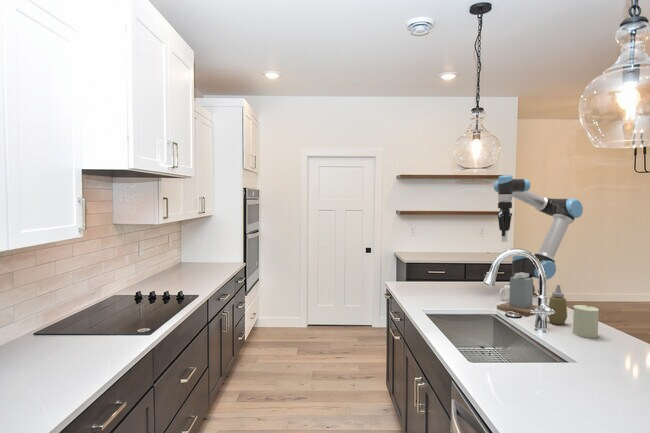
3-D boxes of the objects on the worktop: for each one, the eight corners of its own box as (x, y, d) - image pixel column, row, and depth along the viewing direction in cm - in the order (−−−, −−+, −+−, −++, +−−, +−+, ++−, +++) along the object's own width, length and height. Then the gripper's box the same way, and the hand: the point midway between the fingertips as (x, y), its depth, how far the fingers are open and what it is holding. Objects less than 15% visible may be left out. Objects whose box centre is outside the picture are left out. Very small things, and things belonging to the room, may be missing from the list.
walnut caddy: (515, 304, 213) (515, 300, 213) (544, 311, 200) (545, 307, 199) (496, 309, 202) (496, 305, 202) (527, 316, 189) (527, 312, 189)
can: (600, 334, 164) (601, 307, 164) (594, 339, 158) (595, 311, 158) (576, 329, 171) (577, 302, 171) (569, 333, 165) (570, 306, 165)
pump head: (521, 289, 204) (521, 272, 204) (528, 291, 201) (529, 273, 201) (510, 292, 198) (510, 274, 198) (517, 293, 195) (518, 275, 195)
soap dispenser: (517, 303, 206) (518, 276, 206) (532, 307, 200) (533, 278, 199) (509, 305, 202) (510, 277, 201) (524, 309, 195) (525, 280, 195)
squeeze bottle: (555, 319, 185) (557, 283, 184) (571, 325, 177) (572, 286, 176) (543, 321, 182) (544, 283, 182) (558, 326, 175) (559, 287, 174)
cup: (519, 301, 218) (520, 287, 218) (503, 302, 217) (503, 288, 217) (512, 298, 225) (512, 285, 225) (496, 298, 224) (496, 285, 224)
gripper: (505, 201, 218) (504, 242, 219) (516, 201, 225) (516, 241, 226) (493, 201, 224) (492, 241, 225) (504, 201, 231) (503, 240, 232)
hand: (504, 241), depth 226 cm, fingers closed
